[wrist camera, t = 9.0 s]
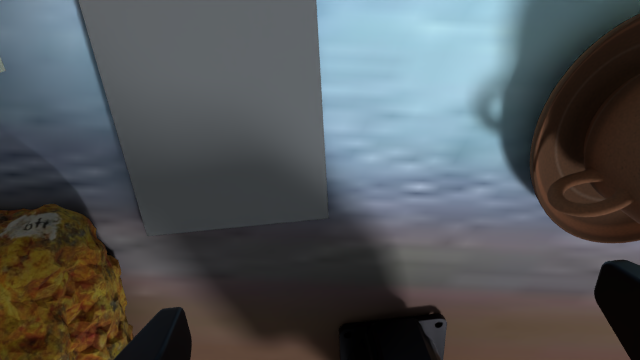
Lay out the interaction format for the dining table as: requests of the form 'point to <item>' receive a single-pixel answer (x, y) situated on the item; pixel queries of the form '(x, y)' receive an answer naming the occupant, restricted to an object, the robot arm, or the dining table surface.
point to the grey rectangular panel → (215, 108)
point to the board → (1, 66)
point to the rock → (58, 289)
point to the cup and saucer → (593, 142)
